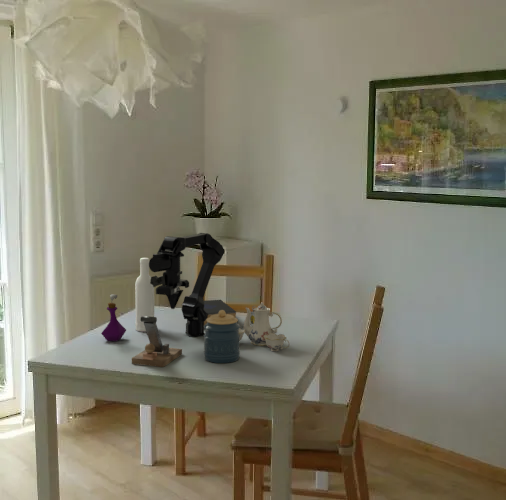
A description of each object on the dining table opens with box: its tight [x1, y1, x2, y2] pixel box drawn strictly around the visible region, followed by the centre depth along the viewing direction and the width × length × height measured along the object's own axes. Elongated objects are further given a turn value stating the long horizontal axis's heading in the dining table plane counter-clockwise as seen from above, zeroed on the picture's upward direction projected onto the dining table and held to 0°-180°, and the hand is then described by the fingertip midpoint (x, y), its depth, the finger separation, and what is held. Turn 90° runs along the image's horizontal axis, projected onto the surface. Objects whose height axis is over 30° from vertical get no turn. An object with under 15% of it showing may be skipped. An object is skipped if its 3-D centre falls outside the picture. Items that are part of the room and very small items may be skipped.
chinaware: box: [239, 301, 290, 352], centre depth 254 cm, size 28×17×17 cm, turn 69°
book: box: [204, 299, 237, 325], centre depth 292 cm, size 17×25×7 cm
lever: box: [140, 316, 164, 353], centre depth 231 cm, size 2×5×16 cm
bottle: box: [134, 257, 155, 333], centre depth 273 cm, size 8×8×30 cm
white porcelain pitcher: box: [240, 305, 257, 330], centre depth 276 cm, size 8×8×10 cm
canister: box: [203, 310, 241, 364], centre depth 236 cm, size 13×13×18 cm
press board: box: [131, 342, 183, 368], centre depth 235 cm, size 16×12×7 cm
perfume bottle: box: [100, 293, 127, 342], centre depth 258 cm, size 8×8×18 cm
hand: (172, 308), depth 256 cm, fingers closed
